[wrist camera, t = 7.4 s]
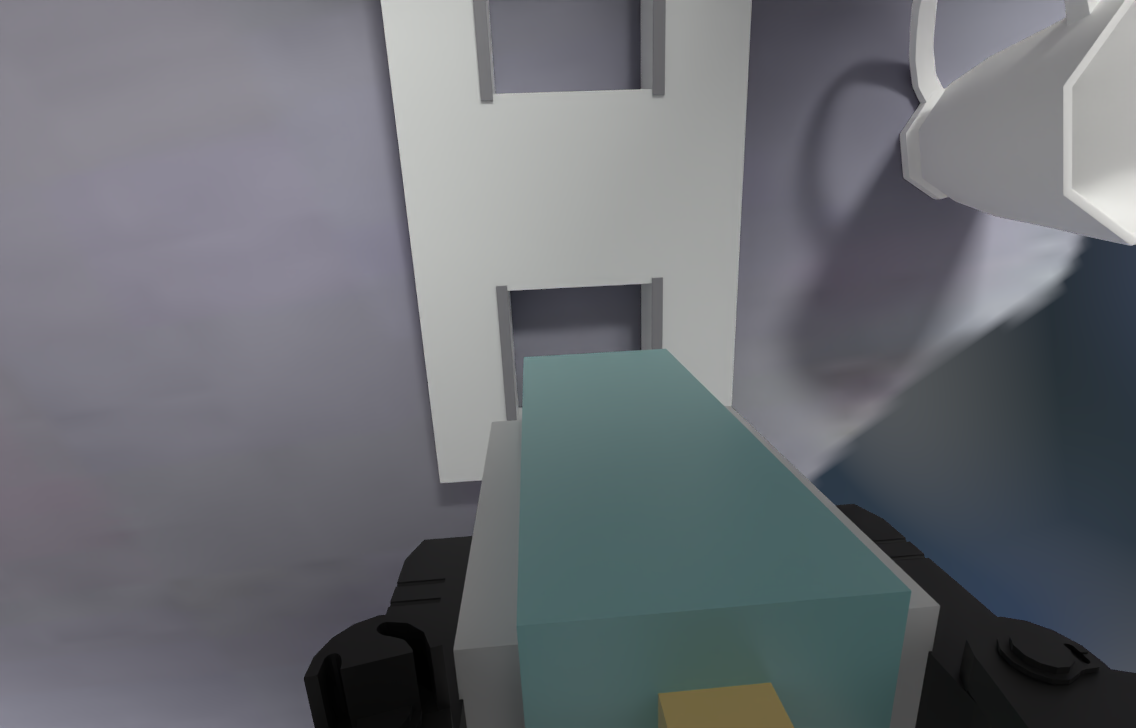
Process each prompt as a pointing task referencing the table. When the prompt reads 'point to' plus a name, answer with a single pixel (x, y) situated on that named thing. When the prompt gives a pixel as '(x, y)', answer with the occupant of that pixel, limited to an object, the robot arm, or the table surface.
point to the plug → (685, 565)
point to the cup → (1034, 123)
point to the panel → (566, 198)
